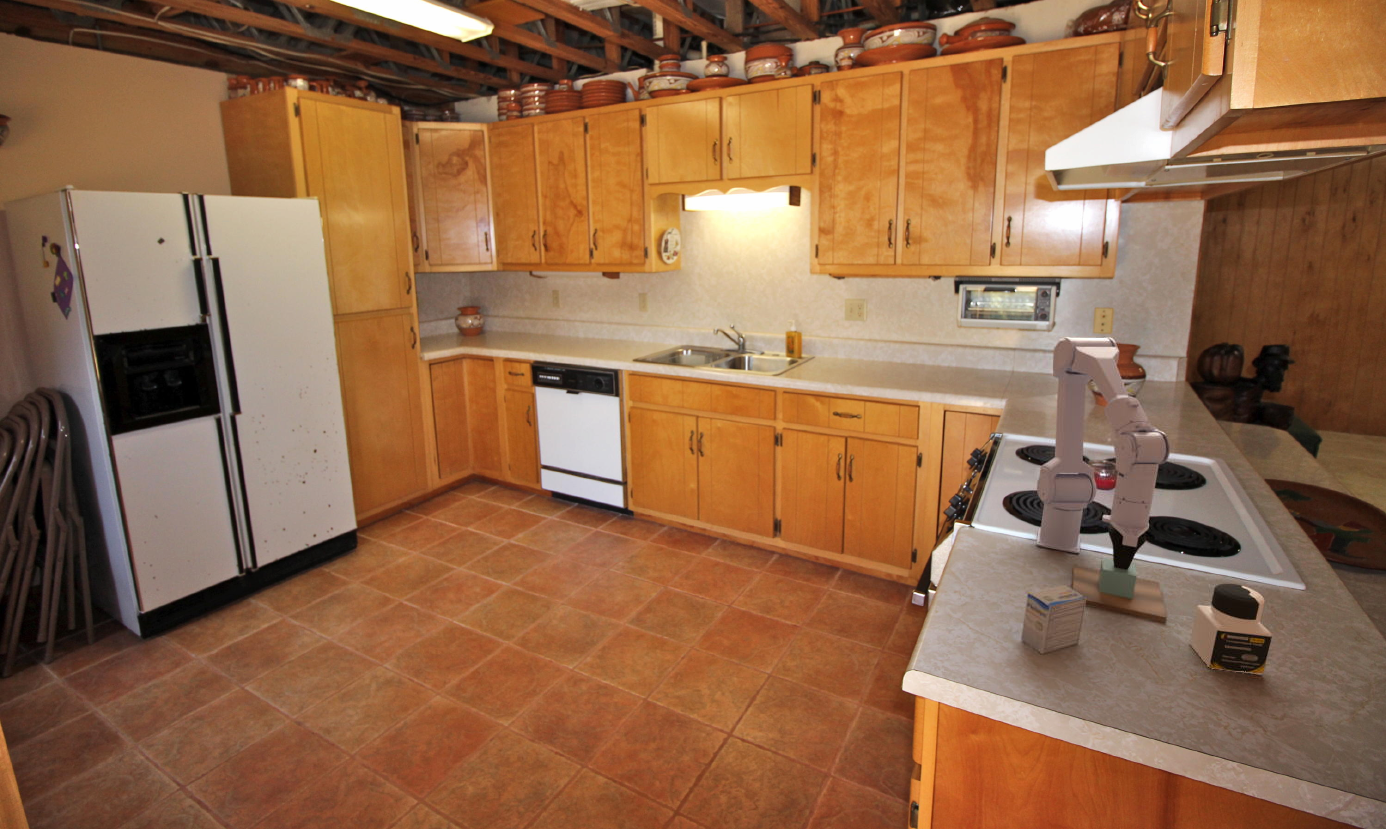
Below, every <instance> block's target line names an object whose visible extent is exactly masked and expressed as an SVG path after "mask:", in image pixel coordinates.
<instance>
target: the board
mask: <svg viewBox="0 0 1386 829" xmlns="http://www.w3.org/2000/svg"><path fill="white" fill-rule="evenodd" d="M1072 570H1073V571H1072V590H1074V591H1076V592H1078V593H1079V594H1081V595H1083V596H1084V597H1086V604H1085V606H1087V607H1088V606H1089V607H1093V608H1098V609H1102V610H1106V611H1110V612H1115V613H1121V614H1124V615H1128V616H1133V617H1137V618H1142V619H1147V620H1152V621H1156V622H1160V623H1163V624H1164V623H1166V621H1167V613H1166V610H1165V604H1164V600H1163V599H1164V598H1163V596H1162V595H1163V594H1162V590H1161V586H1160V582H1159V581H1157V580H1156V581H1155V580H1150V579H1145V578H1141V577H1140V578H1139V577H1136V583H1135V588H1134V594H1133V599H1130V598H1126V597H1121V596H1116V595H1112V594H1107V593H1102V592H1099V581H1098V579H1099V573H1100V569H1095V568H1090V567H1085V566H1079V565H1073V568H1072Z"/></svg>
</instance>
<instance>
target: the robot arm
mask: <svg viewBox="0 0 1386 829" xmlns="http://www.w3.org/2000/svg"><path fill="white" fill-rule="evenodd" d="M1052 356H1053V357H1052V376H1053V377H1054V378H1056V379H1057V394H1056V397H1057V398H1056V400H1057V401H1056V417H1055V418H1056V422H1055V423H1056V426H1055V427H1056V428H1055V448H1054V457H1053V458H1052V459H1050V460H1049V461H1048V462H1045V463H1043V464H1042V465H1041V466H1040V470H1039V472H1040V473H1039V477H1038V479H1037V482H1036V491H1037V496H1038V497H1039V499H1040V500H1041V502H1043V504H1044V505H1043V510H1042V519H1041V524H1040V527H1039V528H1038V533H1037V536H1036V546H1037V547H1041V548H1042V547H1044V548H1049V549H1053V550H1057V551H1062V552H1063V551H1064V552H1068V553H1072V554H1073V553H1074V554H1080V551H1081V550H1080V547H1081V542H1080V539H1081V536H1080V530H1081V524H1082V518H1083V512H1084V511H1083V510H1084V509H1087V508H1088V504H1091V503H1093V501H1094V500H1095V498H1096V495H1097V491H1098V490H1097V483H1096V480H1095V469H1094V468H1092V466H1090V465H1089V464H1088V463H1086V461H1084V460H1083V459H1084V454H1083V453H1084V435H1085V431H1084V430H1085V415H1086V414H1085V412H1086V411H1085V410H1086V392H1087V391H1086V386H1087V384H1088V383H1089V382H1090V381H1091V380H1092V381H1093V382H1094V384H1095V386H1096V388H1098V390H1099V392H1100V394H1101V395H1102V397H1103V398H1104V400H1105V402H1106V405H1105V407H1104V409H1103V413H1104V415H1105V417H1106V420H1107V421H1108V423H1109V426H1110V428H1111V430H1112V432H1113V434H1114V437H1115V439H1116V441H1115V442H1114V445H1113V450H1114V455H1115V464H1114V466H1115V470H1116V471H1117V476H1116V482H1115V488H1114V494H1113V499H1112V506H1111V511H1110V515H1109V514H1103V515H1102V520H1101V521H1103V522H1104V523H1108V524H1110V525H1108V526H1107V528H1108V535H1109V538H1110V540H1111V544H1112V560H1113V562H1114V567H1115V568H1120V569H1125V570H1128V568H1129V567H1130V565H1131V563H1132V562H1133V560H1134V558H1135V556H1136V554H1137V553H1138V550H1139V549H1141V547H1142V546H1143V545H1144V544H1145V543H1146V541H1147V538H1146V532H1147V531H1148V530H1149V527H1150V523H1149V520H1150V514H1151V509H1152V503H1153V498H1154V493H1155V487H1156V481H1157V477H1158V471H1159V465H1163V464H1165V463H1166V462H1167V461H1168V459H1169V457H1170V454H1171V445H1170V441H1169V439H1168V436H1167V434H1166V433H1165V432H1163V431H1162V430H1159V429H1158V428H1157V427H1155V426H1152V424H1151V422H1150V421H1149V418H1148V416H1147V414H1146V413H1145V411H1144V408H1143V406H1142V405H1141V403H1140V401H1139V399H1137V397H1133V396H1129V394H1128V392H1127V390H1126V387H1125V383H1124V382H1123V378H1122V376H1121V373H1120V371H1119V368H1118V366H1117V365H1118V361H1119V359H1120V349H1119V348H1118V344H1117V342H1116V341H1115V340H1114V338H1112V337H1110V336H1109V337H1107V336H1105V337H1067V336H1063V337H1062V338H1060V339H1059V341H1058V342H1057V343H1056V345H1055V347H1054V348H1053V354H1052Z"/></svg>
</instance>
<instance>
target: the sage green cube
mask: <svg viewBox="0 0 1386 829" xmlns="http://www.w3.org/2000/svg"><path fill="white" fill-rule="evenodd" d="M1099 570H1100V573H1099V579H1098V581H1099V592H1102V593H1107V594H1112V595H1116V596H1121V597H1126V598H1130V599H1133V594H1134V588H1135V583H1136V578H1138V576H1137V570H1136V564H1135V563H1132V562H1131V565H1130V567H1129V568H1128V570H1125V569H1120V568H1115V567H1114V562H1113V559H1112V558H1111V559H1110V558H1105V557H1102V558H1101V562H1100V569H1099Z"/></svg>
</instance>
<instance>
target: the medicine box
mask: <svg viewBox="0 0 1386 829" xmlns="http://www.w3.org/2000/svg"><path fill="white" fill-rule="evenodd" d="M1085 604H1086V597H1084V596H1083V595H1081V594H1079V593H1078V592H1076V591H1074V590H1073V588H1070V587H1069V586H1066V585H1064V584H1063V585H1059V586H1054V587H1050V588H1046V589H1042V590H1038V591H1033V592H1030V593H1027V597H1026V603H1025V612H1024V619H1023V623H1022V624H1023V625H1022V631H1021V641H1022V642H1023V643H1026V645H1028V646H1029V645H1030V646H1029V647H1031V648H1032V649H1034V650H1035V651H1036V650H1037V651H1036V652H1038V653H1039V652H1040V654H1041V655H1043V654H1046V653H1050V652H1054V651H1057V650H1060V649H1063V648H1067V647H1071V646H1074V645H1078V644H1079V642H1080V637H1081V632H1082V626H1083V620H1084V616H1085V615H1084V614H1085V608H1086V605H1085Z"/></svg>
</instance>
